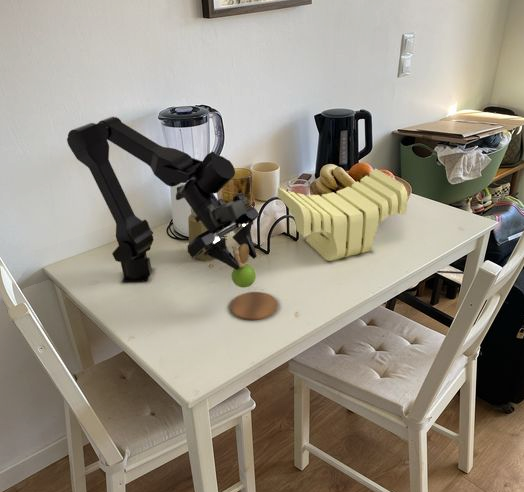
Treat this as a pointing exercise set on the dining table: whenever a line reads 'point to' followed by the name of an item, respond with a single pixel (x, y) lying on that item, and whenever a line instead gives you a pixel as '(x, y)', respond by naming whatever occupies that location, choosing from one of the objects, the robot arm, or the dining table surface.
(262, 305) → the plate
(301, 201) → the slatted curved stool
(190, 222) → the squeeze bottle
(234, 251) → the snail figurine
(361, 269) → the dining table surface
